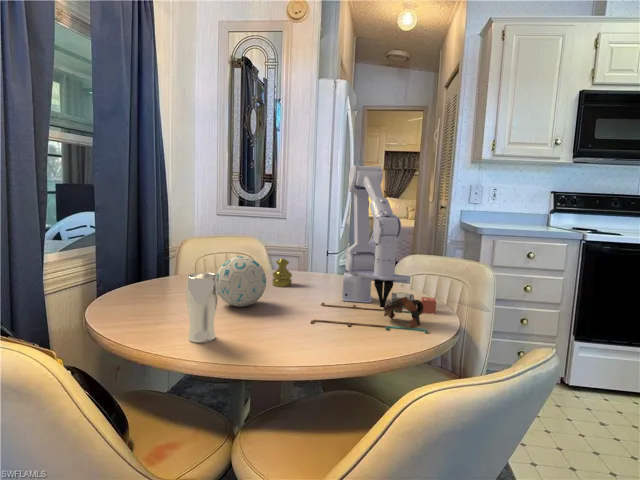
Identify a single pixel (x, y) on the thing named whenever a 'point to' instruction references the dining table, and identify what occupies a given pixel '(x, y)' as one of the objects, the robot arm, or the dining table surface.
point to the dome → (402, 295)
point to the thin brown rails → (366, 324)
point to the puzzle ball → (241, 281)
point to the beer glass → (202, 306)
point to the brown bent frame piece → (409, 306)
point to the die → (428, 305)
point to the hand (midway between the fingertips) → (382, 306)
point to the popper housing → (400, 298)
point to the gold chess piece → (282, 274)
